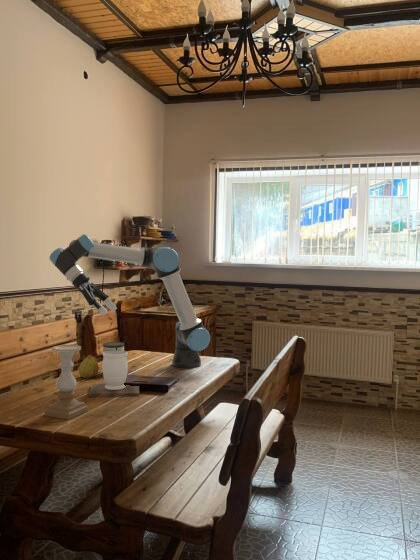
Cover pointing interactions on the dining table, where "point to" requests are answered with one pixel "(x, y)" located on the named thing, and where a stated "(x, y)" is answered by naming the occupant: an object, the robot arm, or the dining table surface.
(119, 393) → the walnut board
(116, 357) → the jar
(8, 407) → the dining table surface
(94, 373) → the fruit
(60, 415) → the candle holder
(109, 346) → the coffee can
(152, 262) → the robot arm
